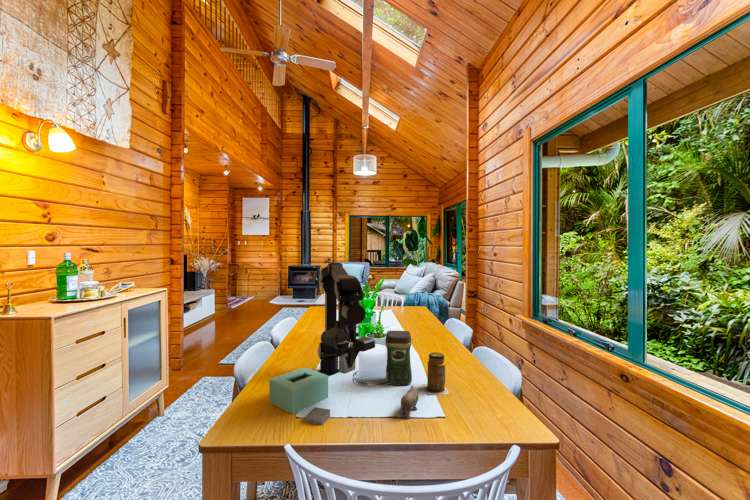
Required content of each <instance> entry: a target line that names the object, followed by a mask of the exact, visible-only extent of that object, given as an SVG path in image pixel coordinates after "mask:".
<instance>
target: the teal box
mask: <svg viewBox="0 0 750 500" xmlns="http://www.w3.org/2000/svg"><path fill="white" fill-rule="evenodd" d="M268 385H269V394H268V395H269V397H268V398H269V401H268V402H269V403H270V404H272V405H274V406H277V407H278V408H280V409H282V410H284V411H286V412H287V413H290V414H291V415H294V414H297V413H299V412H301V411H303V410H305V409H308V408H310V407H312V406H315V405H316V403H317V404H319V403H321V402H323V401H325V400H324V399H326V398H328V399H329V376H328V375H325V374H322V373H320V372H318V371H316V370H314V369H311V368H309V367H305V366H304V367H302V368H301V367H300V368H298V369H294V370H292V371H289V372H285V373H283V374H280V375H277V376H274V377H271V378H269V384H268ZM322 400H323V401H322ZM326 400H327V399H326ZM320 401H321V402H320ZM318 402H319V403H318ZM311 405H312V406H311ZM309 406H310V407H309ZM307 407H308V408H307ZM304 408H305V409H304ZM302 409H303V410H302ZM300 410H301V411H300Z"/></svg>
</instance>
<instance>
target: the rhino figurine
mask: <svg viewBox="0 0 750 500" xmlns="http://www.w3.org/2000/svg"><path fill="white" fill-rule="evenodd" d="M421 389H422V388H421V387H419V388H415V387H414V386H413V385H411V388H410V389H409V390H408V391H407V392H406V393H405V394H403V395H402V397H401V398H400V406H401V412H400V415H401V416H405V418H406V420H407V419H409V420H411V415H410V413H411V411H412V410H413V411H417V410H418V408H417V407H416V406H417V404H418V401H419V392H420V391H421ZM405 411H406V412H405Z"/></svg>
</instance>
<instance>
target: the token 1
mask: <svg viewBox="0 0 750 500" xmlns="http://www.w3.org/2000/svg"><path fill="white" fill-rule="evenodd" d="M330 418H331V409H330V408H329V409H328V408H324V407H317V406H316V407H315V406H314V407H313V408H311V410H310V411H309V412H308V413H307V414H306V416H305V422H306V423H308V424H314V425H319V426H323V425H324V424H325V423H326V422H327V421H328V420H329V419H330Z"/></svg>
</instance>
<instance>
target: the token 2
mask: <svg viewBox="0 0 750 500" xmlns="http://www.w3.org/2000/svg"><path fill="white" fill-rule="evenodd" d="M338 369H339V372H338V373H341V374H343V375H344V374H345V375H346V374H348V373H350V372H352V371H353V372H354V371H355V370H356V361H355V362H354V364H353V366H352V368H349V366H348V353H346V354H343V355H341V356H339V357H338Z"/></svg>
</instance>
